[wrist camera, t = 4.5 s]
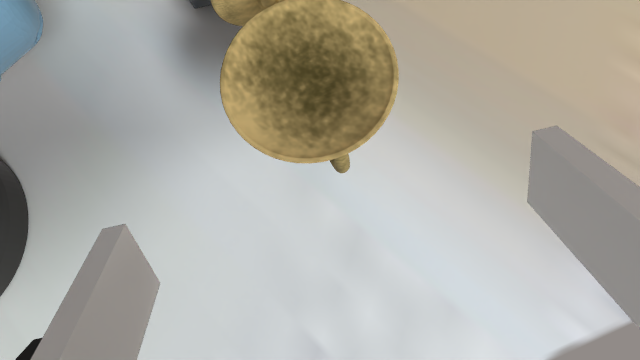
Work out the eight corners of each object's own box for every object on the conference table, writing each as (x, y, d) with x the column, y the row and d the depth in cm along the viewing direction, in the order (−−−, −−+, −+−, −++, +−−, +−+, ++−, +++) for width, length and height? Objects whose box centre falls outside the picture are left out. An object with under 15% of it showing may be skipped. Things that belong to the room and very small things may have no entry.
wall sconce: (224, 64, 35) (-85, -421, 10) (329, 17, 35) (271, -574, 10) (290, 218, 32) (74, 48, 7) (405, 165, 32) (576, -176, 7)
